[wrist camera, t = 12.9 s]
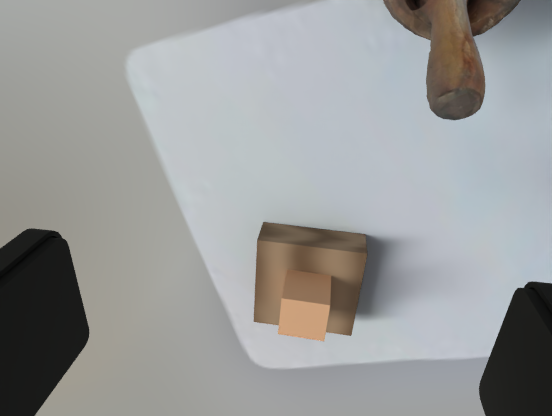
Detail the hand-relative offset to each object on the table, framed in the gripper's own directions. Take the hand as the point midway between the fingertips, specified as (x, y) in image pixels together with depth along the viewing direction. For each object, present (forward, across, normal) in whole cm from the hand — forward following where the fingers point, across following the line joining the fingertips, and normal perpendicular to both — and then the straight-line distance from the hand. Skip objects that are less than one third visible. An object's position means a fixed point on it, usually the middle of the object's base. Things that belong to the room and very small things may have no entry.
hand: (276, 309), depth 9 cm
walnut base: (+35, 0, +24) cm, 43 cm away
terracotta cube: (+31, 0, +24) cm, 39 cm away
